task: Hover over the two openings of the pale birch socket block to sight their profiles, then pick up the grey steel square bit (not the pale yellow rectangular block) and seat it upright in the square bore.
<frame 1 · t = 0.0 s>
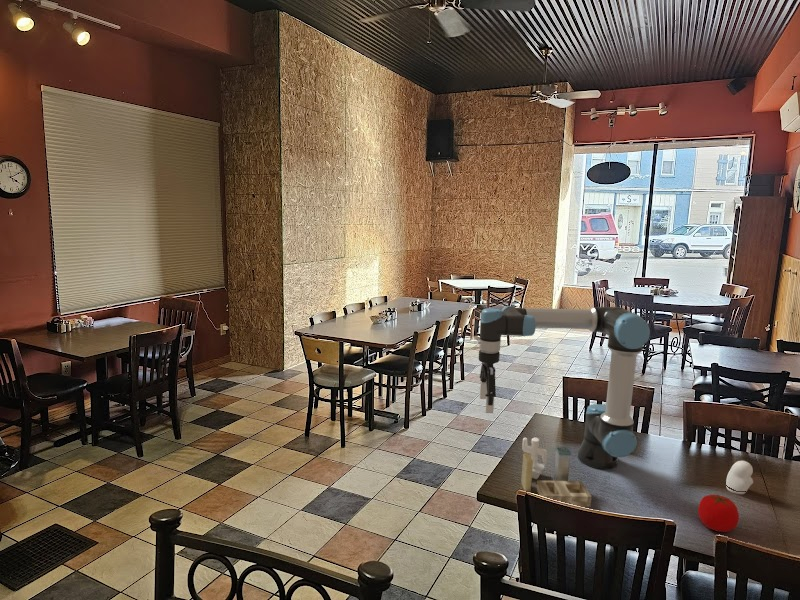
hand: (486, 405, 197), 28 cm above the table, fingers open, 13 cm apart
pale yellow rectangular block: (525, 487, 194), on the table
socket block: (562, 498, 187), on the table
tomato: (715, 527, 173), on the table
figurine 2: (532, 475, 202), on the table
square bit: (560, 484, 196), on the table
figurine: (737, 490, 195), on the table
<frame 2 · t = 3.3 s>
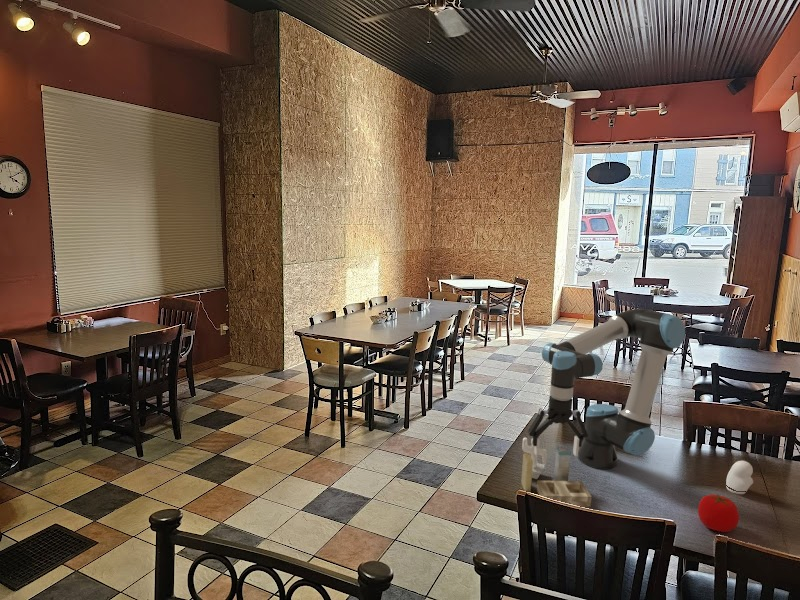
hand: (555, 454, 183), 17 cm above the table, fingers open, 13 cm apart
nothing on the table moved.
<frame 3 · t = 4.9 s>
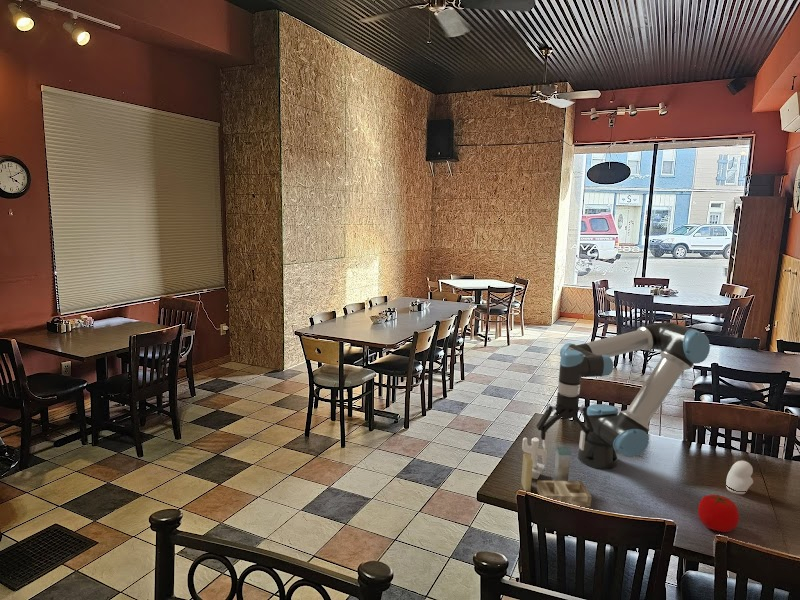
hand: (562, 448, 193), 15 cm above the table, fingers open, 13 cm apart
nothing on the table moved.
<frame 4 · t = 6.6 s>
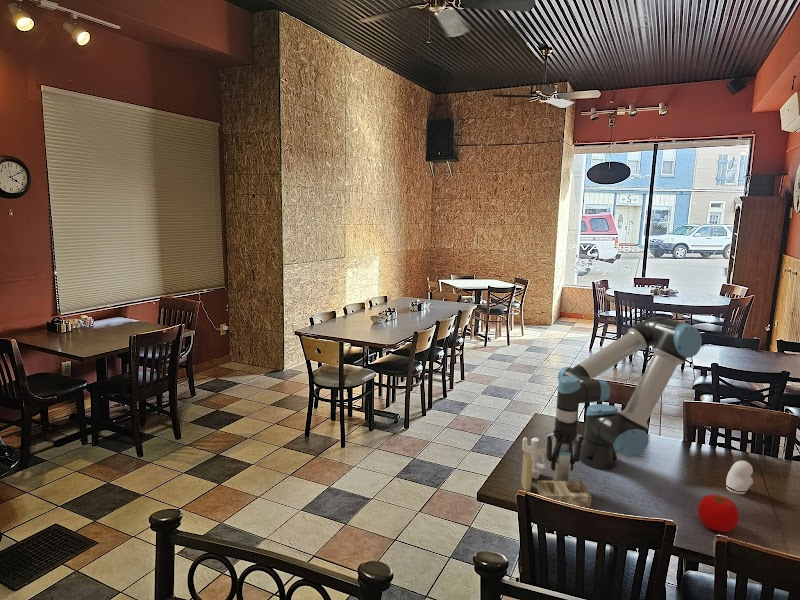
hand: (560, 477, 196), 3 cm above the table, fingers closed on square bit, 4 cm apart
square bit: (560, 484, 196), on the table, touching gripper
everything else where it was.
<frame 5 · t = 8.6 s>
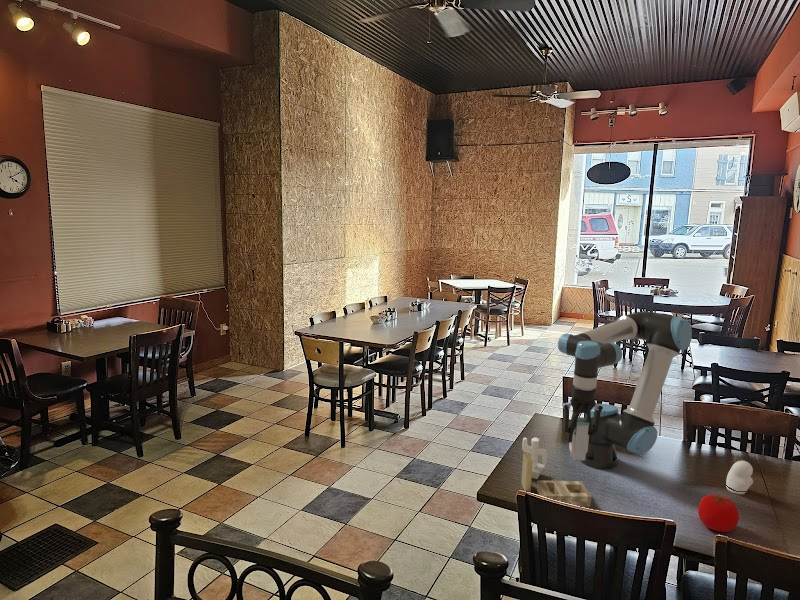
hand: (578, 450, 183), 18 cm above the table, fingers closed on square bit, 4 cm apart
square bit: (577, 457, 184), point 16 cm above the table, touching gripper
everything else where it was.
when the fingers open (5 cm above the table, at t = 10.6 s): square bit drops 2 cm, resting on socket block.
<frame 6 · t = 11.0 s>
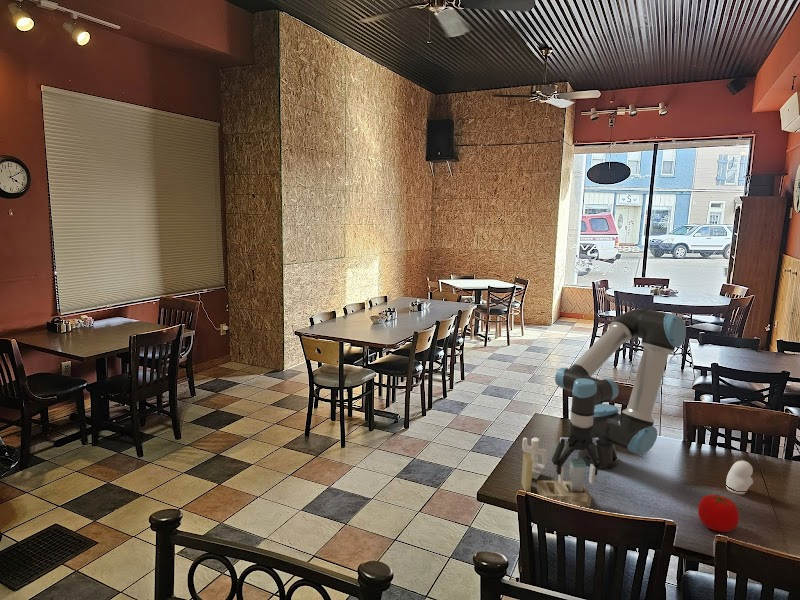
hand: (575, 482, 186), 6 cm above the table, fingers open, 10 cm apart
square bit: (574, 497, 187), resting on socket block
everything else where it was.
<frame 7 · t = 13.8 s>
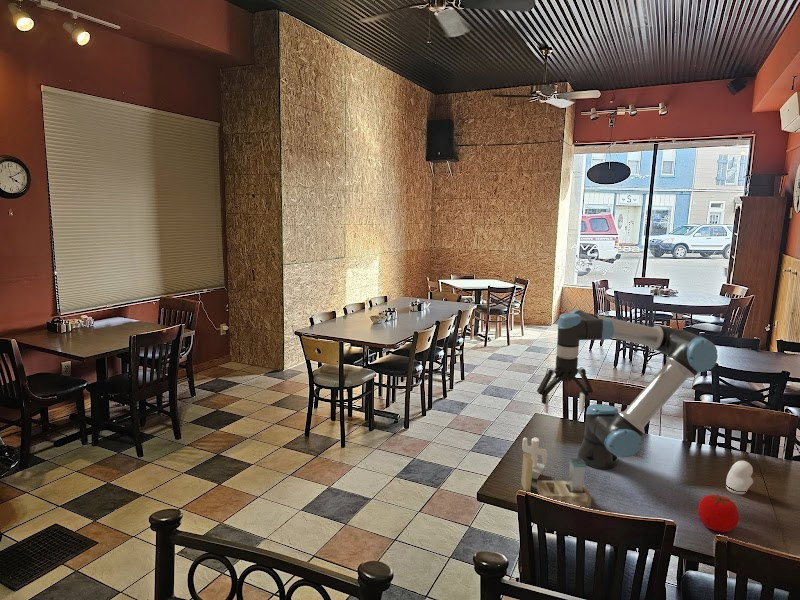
hand: (563, 411, 195), 27 cm above the table, fingers open, 13 cm apart
nothing on the table moved.
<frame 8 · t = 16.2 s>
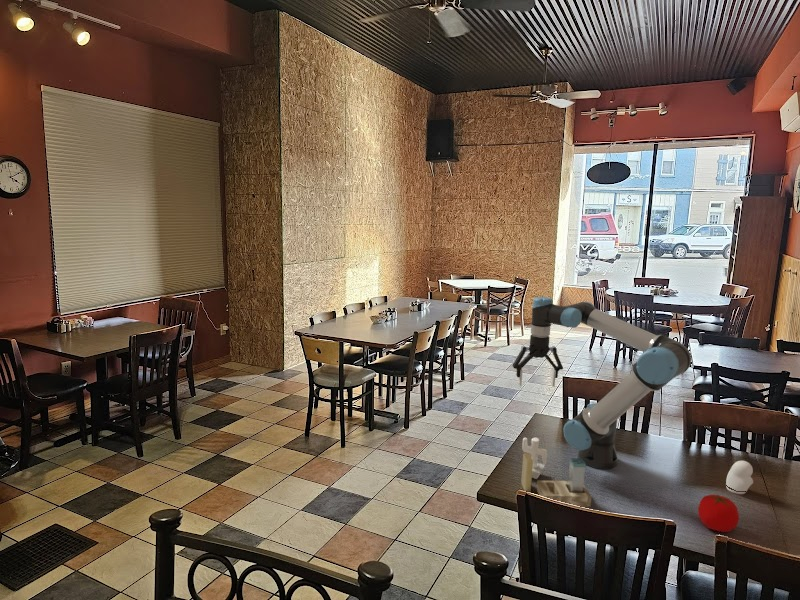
hand: (536, 385, 218), 29 cm above the table, fingers open, 13 cm apart
nothing on the table moved.
at the end: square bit 0.0 cm from the target spot on the socket block, point 0.5 cm above the socket block's base; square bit tilted 0°; the gripper is holding nothing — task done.
